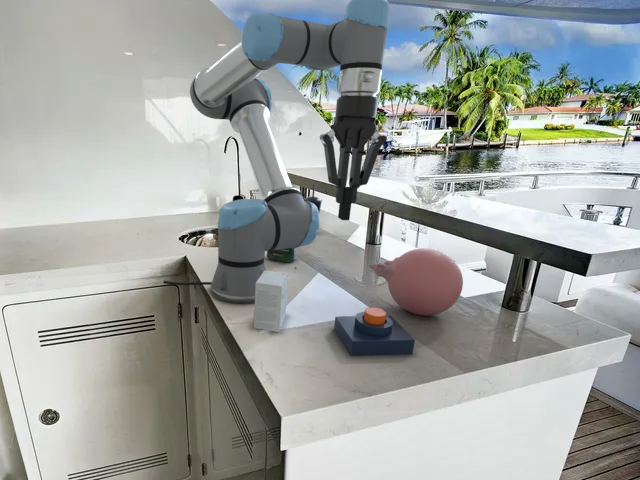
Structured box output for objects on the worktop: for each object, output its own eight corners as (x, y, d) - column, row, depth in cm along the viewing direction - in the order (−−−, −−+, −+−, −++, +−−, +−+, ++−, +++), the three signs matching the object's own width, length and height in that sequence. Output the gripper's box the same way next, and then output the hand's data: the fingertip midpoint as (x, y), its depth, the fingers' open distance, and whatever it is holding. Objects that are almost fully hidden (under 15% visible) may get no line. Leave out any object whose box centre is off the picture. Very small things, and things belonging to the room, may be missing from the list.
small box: (261, 312, 87) (263, 269, 84) (285, 316, 86) (288, 272, 82) (252, 328, 80) (254, 282, 76) (278, 333, 78) (282, 286, 75)
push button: (350, 356, 71) (353, 332, 69) (333, 330, 80) (336, 308, 78) (412, 354, 72) (416, 331, 70) (388, 328, 81) (391, 307, 80)
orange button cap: (368, 326, 72) (369, 316, 72) (360, 316, 76) (361, 307, 75) (388, 325, 73) (390, 316, 72) (379, 316, 76) (380, 307, 76)
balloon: (370, 290, 101) (379, 234, 96) (455, 307, 92) (469, 246, 87) (357, 312, 89) (366, 249, 84) (454, 334, 80) (470, 265, 74)
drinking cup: (320, 234, 157) (325, 185, 150) (302, 233, 157) (306, 184, 150) (317, 229, 164) (321, 183, 158) (299, 229, 164) (303, 182, 158)
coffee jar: (263, 259, 124) (265, 202, 118) (273, 253, 131) (276, 199, 124) (290, 264, 120) (295, 206, 113) (299, 258, 126) (304, 202, 120)
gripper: (330, 93, 68) (318, 222, 75) (400, 95, 69) (381, 223, 77) (318, 96, 75) (308, 215, 82) (382, 98, 76) (366, 215, 84)
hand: (343, 218), depth 79 cm, fingers closed
